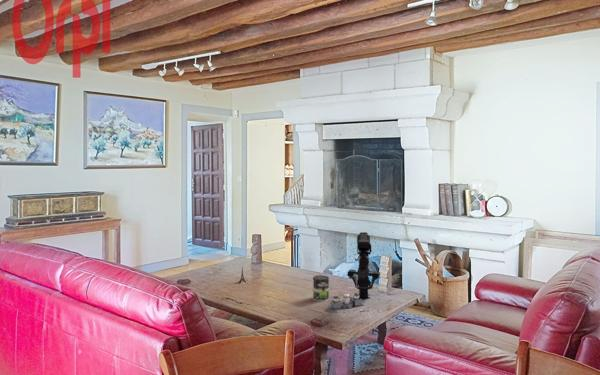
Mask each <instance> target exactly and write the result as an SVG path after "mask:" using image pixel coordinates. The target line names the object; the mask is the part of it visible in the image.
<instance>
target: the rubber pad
mask: <svg viewBox="0 0 600 375" xmlns="http://www.w3.org/2000/svg"><path fill="white" fill-rule="evenodd" d="M325 312H326V313H327V314H329V315H332V314H338V313H339V312H338V310H332V309H329V310H325Z"/></svg>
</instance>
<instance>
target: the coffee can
mask: <svg viewBox="0 0 600 375" xmlns="http://www.w3.org/2000/svg"><path fill="white" fill-rule="evenodd" d="M329 287H330V277H329V276H327V275H320V274H319V275H314V276H313V277H312V297H313V298H312V300H314V301H318V302H325V301H328V300H330V296H329V294H330V293H329V292H330V289H329Z"/></svg>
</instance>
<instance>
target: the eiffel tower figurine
mask: <svg viewBox="0 0 600 375" xmlns="http://www.w3.org/2000/svg"><path fill="white" fill-rule="evenodd" d="M241 282H245V283H246V282H247V280H245V277H244V270H243V266H241V275H240V279H239V281H238V285H241V284H240V283H241Z"/></svg>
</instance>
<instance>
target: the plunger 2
mask: <svg viewBox="0 0 600 375" xmlns="http://www.w3.org/2000/svg"><path fill="white" fill-rule="evenodd" d="M353 295H354V296H353V298H354V299H355V300H358V299H359V292H358V293H356V292H355V293H353Z"/></svg>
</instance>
